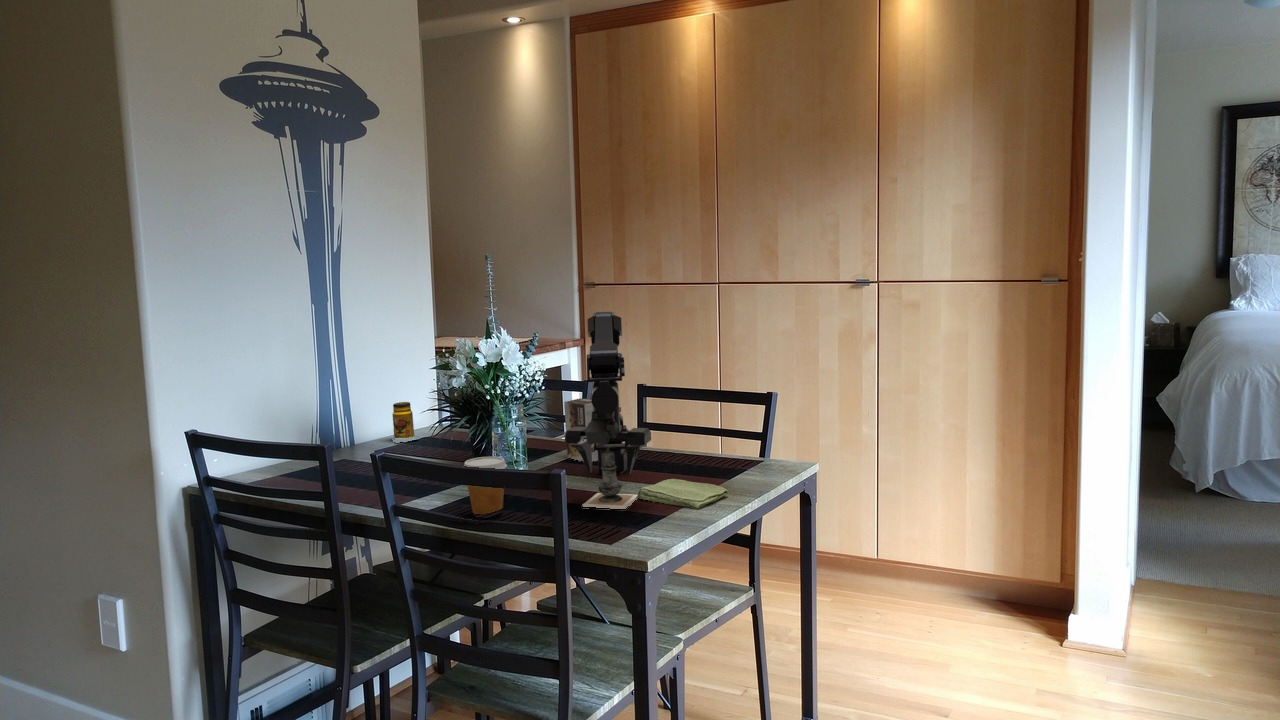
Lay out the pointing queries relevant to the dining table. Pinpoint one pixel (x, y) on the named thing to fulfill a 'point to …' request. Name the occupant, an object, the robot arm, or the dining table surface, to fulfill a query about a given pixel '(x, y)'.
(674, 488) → the washcloth
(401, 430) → the condiment
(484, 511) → the disposable coffee cup
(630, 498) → the coaster
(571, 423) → the coffee box
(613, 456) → the salt shaker
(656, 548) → the dining table surface
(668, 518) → the dining table surface
